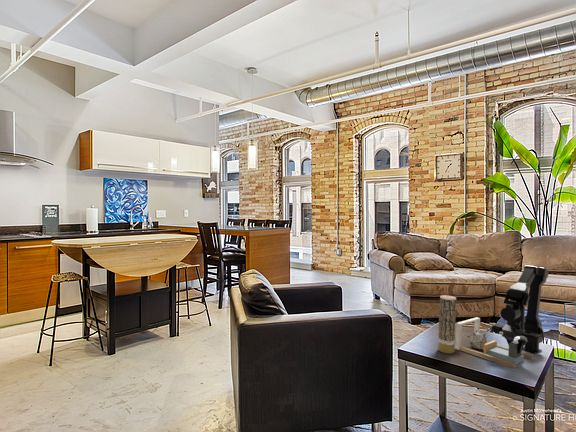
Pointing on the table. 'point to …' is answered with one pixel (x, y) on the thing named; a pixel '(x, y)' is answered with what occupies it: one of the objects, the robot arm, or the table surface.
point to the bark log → (447, 324)
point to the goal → (459, 330)
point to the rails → (494, 357)
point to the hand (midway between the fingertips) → (515, 352)
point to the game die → (478, 340)
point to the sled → (504, 352)
